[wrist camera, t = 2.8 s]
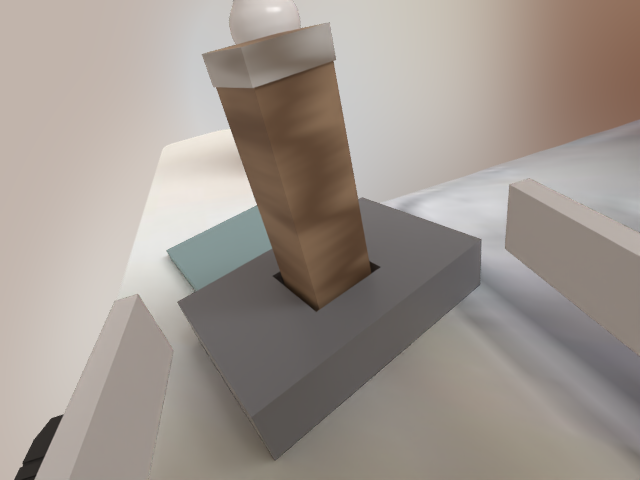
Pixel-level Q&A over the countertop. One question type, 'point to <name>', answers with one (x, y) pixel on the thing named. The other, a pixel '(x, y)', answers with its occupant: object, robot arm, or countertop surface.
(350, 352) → the block
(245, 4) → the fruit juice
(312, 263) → the walnut plug
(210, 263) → the pad
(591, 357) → the countertop surface
